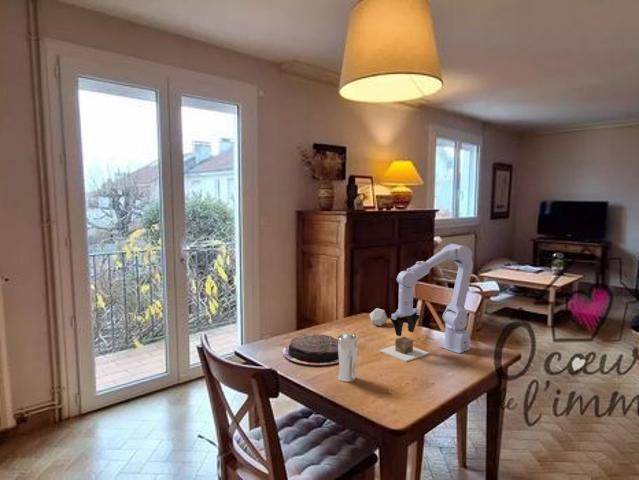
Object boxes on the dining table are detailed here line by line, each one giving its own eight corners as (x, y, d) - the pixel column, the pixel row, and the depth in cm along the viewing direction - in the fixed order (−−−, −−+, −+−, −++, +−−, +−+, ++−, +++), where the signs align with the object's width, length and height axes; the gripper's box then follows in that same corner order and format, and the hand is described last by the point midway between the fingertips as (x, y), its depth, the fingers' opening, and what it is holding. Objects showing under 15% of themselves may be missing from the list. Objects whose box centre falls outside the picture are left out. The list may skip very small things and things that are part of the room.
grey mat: (428, 353, 171) (428, 352, 170) (406, 362, 162) (406, 360, 162) (402, 344, 182) (402, 342, 181) (379, 351, 173) (379, 349, 173)
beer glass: (344, 372, 152) (345, 332, 150) (360, 377, 148) (361, 336, 146) (332, 378, 147) (333, 337, 145) (349, 384, 142) (349, 341, 141)
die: (390, 326, 208) (387, 308, 213) (385, 322, 202) (381, 303, 206) (375, 330, 211) (372, 312, 216) (369, 326, 204) (366, 307, 209)
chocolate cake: (360, 348, 177) (361, 333, 177) (335, 373, 152) (335, 356, 151) (301, 338, 189) (301, 324, 188) (269, 360, 164) (269, 343, 163)
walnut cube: (412, 351, 171) (413, 339, 171) (404, 354, 168) (405, 342, 168) (403, 348, 175) (403, 336, 175) (395, 350, 172) (395, 338, 172)
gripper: (409, 296, 177) (408, 327, 179) (386, 301, 168) (385, 334, 170) (423, 299, 172) (422, 332, 173) (399, 305, 163) (398, 339, 164)
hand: (404, 333), depth 171 cm, fingers open, 7 cm apart
